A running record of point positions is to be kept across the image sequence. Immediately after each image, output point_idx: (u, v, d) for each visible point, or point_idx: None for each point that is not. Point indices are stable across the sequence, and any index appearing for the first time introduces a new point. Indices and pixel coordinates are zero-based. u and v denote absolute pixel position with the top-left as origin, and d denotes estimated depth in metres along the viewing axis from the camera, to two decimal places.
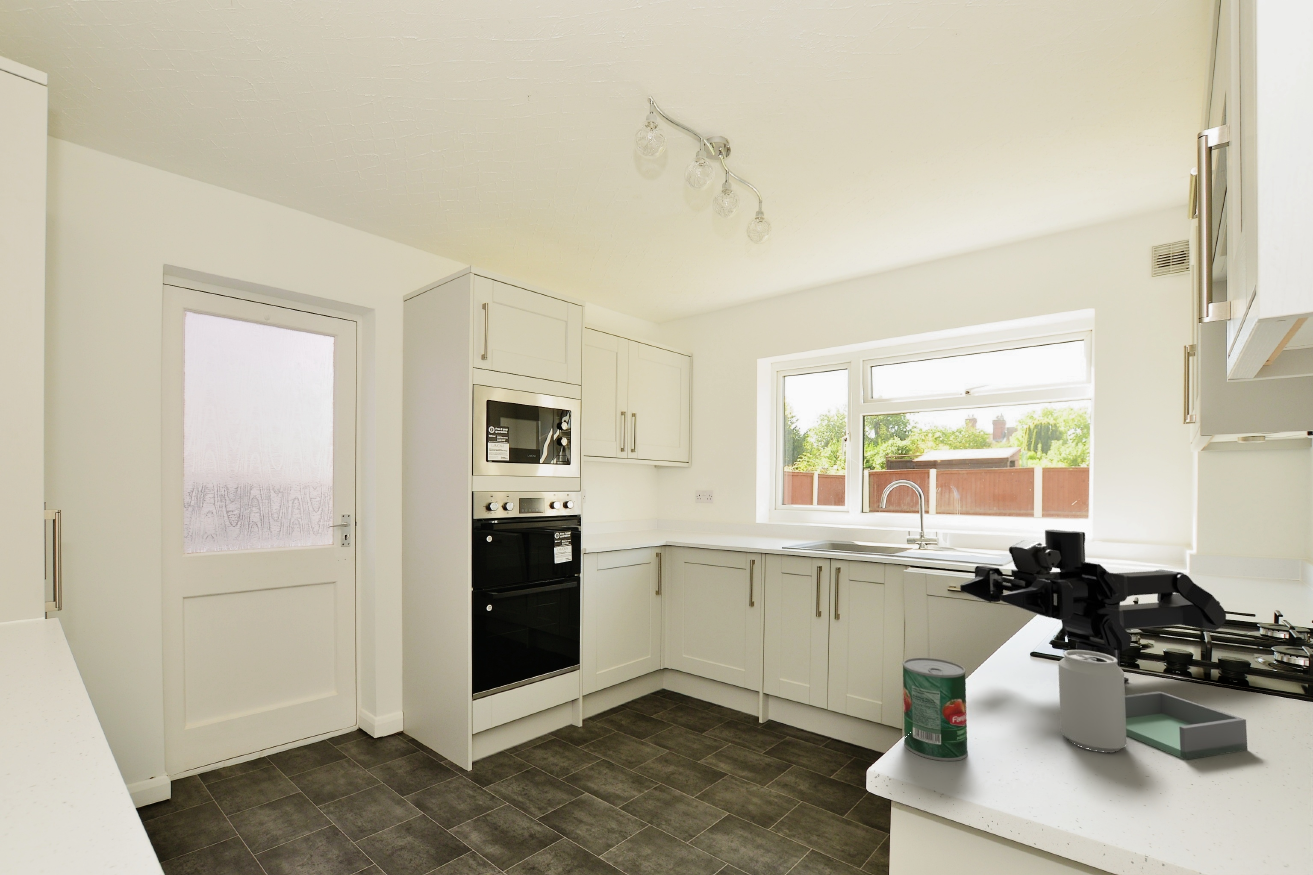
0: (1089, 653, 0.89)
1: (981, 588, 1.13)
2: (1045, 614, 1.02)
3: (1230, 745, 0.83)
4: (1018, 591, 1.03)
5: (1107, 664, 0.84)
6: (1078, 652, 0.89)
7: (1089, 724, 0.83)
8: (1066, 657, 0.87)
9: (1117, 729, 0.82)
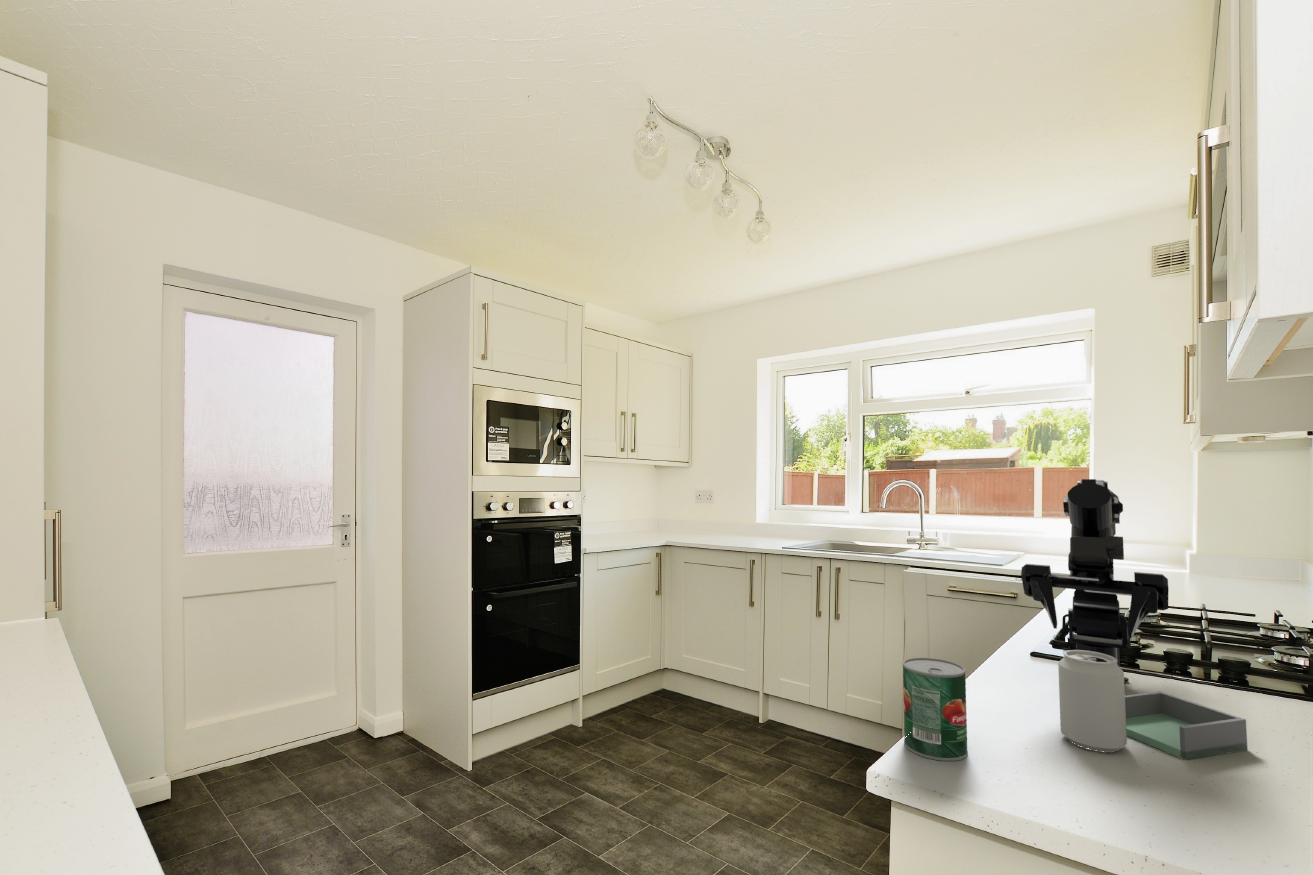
0: (1089, 653, 0.89)
1: None
2: (1148, 612, 0.94)
3: (1230, 745, 0.83)
4: (1134, 616, 0.91)
5: (1107, 664, 0.84)
6: (1078, 652, 0.89)
7: (1089, 724, 0.83)
8: (1066, 657, 0.87)
9: (1117, 729, 0.82)
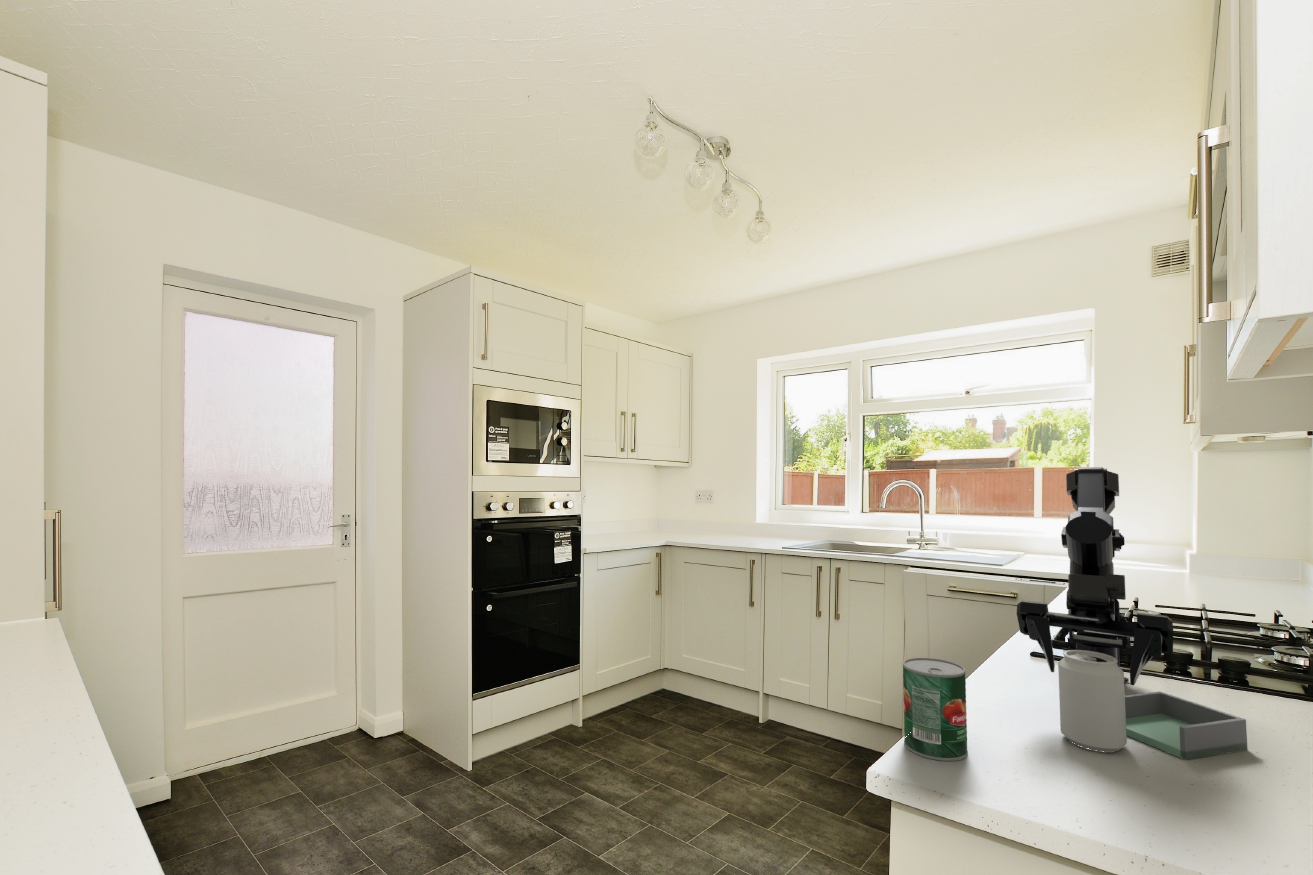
0: (1089, 653, 0.89)
1: None
2: (1152, 656, 0.88)
3: (1230, 745, 0.83)
4: (1136, 661, 0.85)
5: (1107, 664, 0.84)
6: (1078, 652, 0.89)
7: (1089, 724, 0.83)
8: (1066, 657, 0.87)
9: (1117, 729, 0.82)
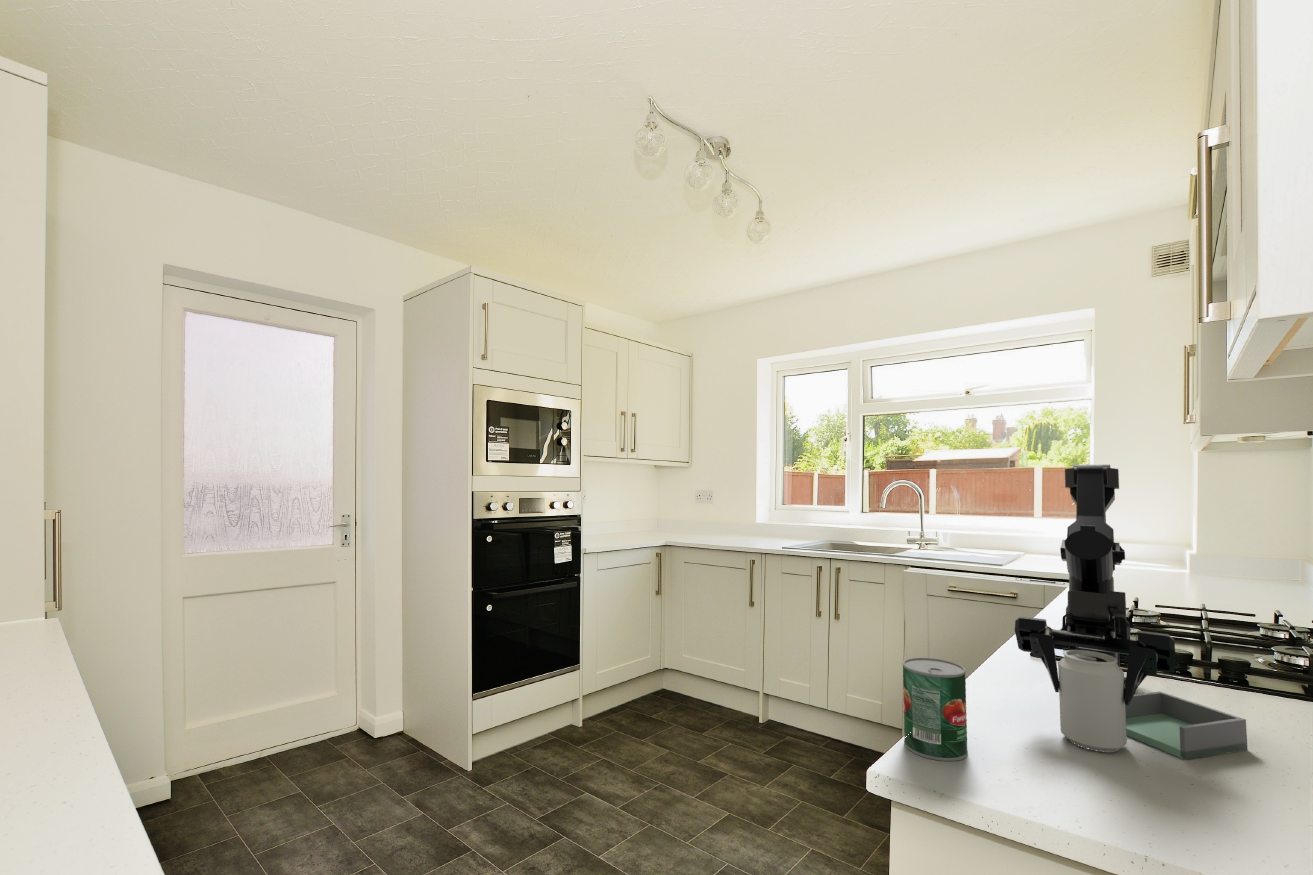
0: (1089, 653, 0.89)
1: None
2: (1147, 674, 0.87)
3: (1230, 745, 0.83)
4: (1131, 680, 0.84)
5: (1107, 664, 0.84)
6: (1078, 652, 0.89)
7: (1089, 724, 0.83)
8: (1066, 657, 0.87)
9: (1117, 729, 0.82)
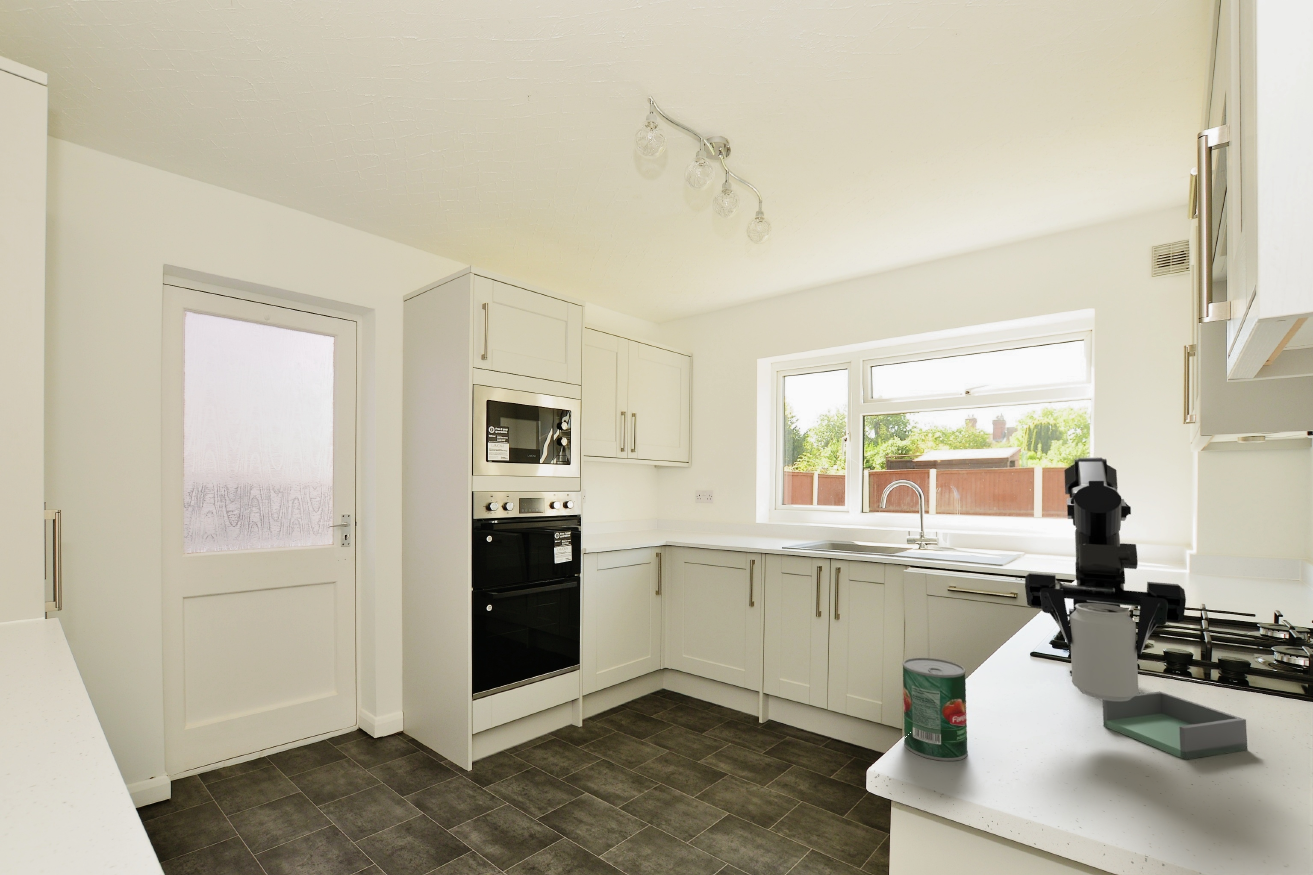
0: (1099, 606, 0.89)
1: None
2: (1156, 624, 0.87)
3: (1230, 745, 0.83)
4: (1143, 630, 0.84)
5: (1120, 614, 0.84)
6: (1088, 605, 0.90)
7: (1102, 674, 0.84)
8: (1078, 609, 0.87)
9: (1130, 678, 0.83)
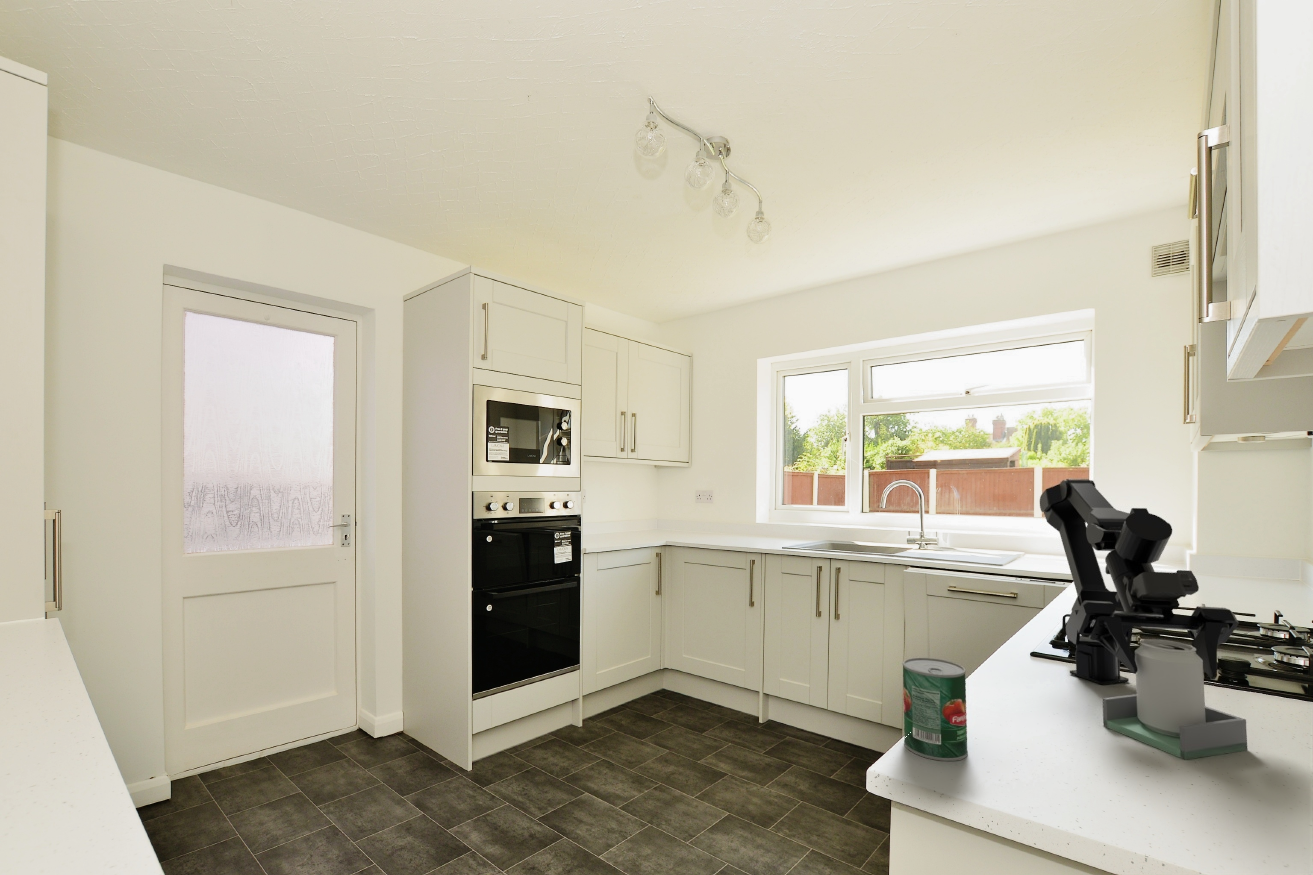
0: (1157, 641, 0.91)
1: None
2: None
3: (1230, 745, 0.83)
4: (1213, 655, 0.87)
5: (1193, 651, 0.86)
6: (1148, 641, 0.91)
7: (1181, 712, 0.85)
8: (1150, 648, 0.88)
9: (1203, 714, 0.85)
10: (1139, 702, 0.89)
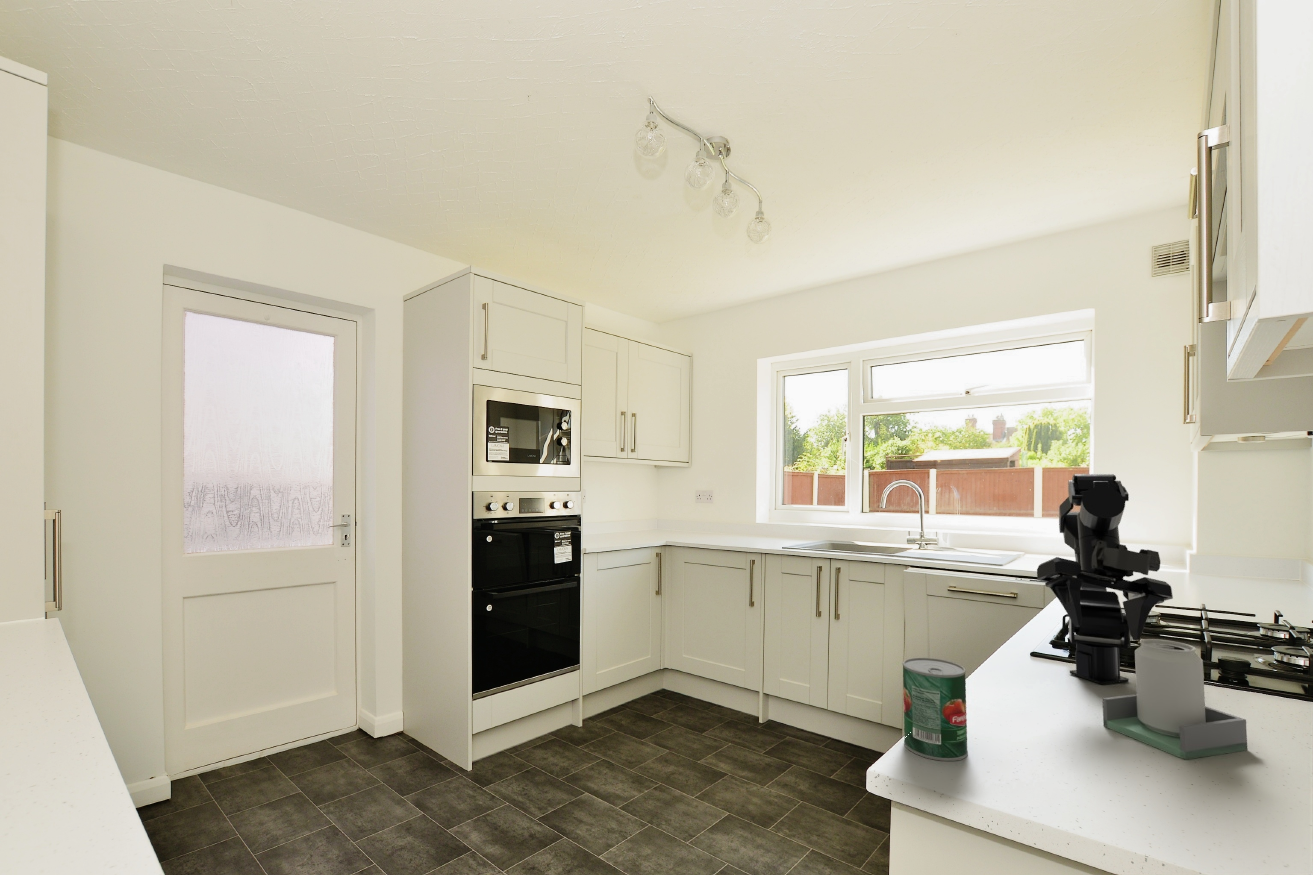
0: (1157, 641, 0.91)
1: None
2: None
3: (1230, 745, 0.83)
4: (1143, 621, 1.00)
5: (1193, 651, 0.86)
6: (1148, 641, 0.91)
7: (1181, 712, 0.85)
8: (1150, 648, 0.88)
9: (1203, 714, 0.85)
10: (1139, 702, 0.89)
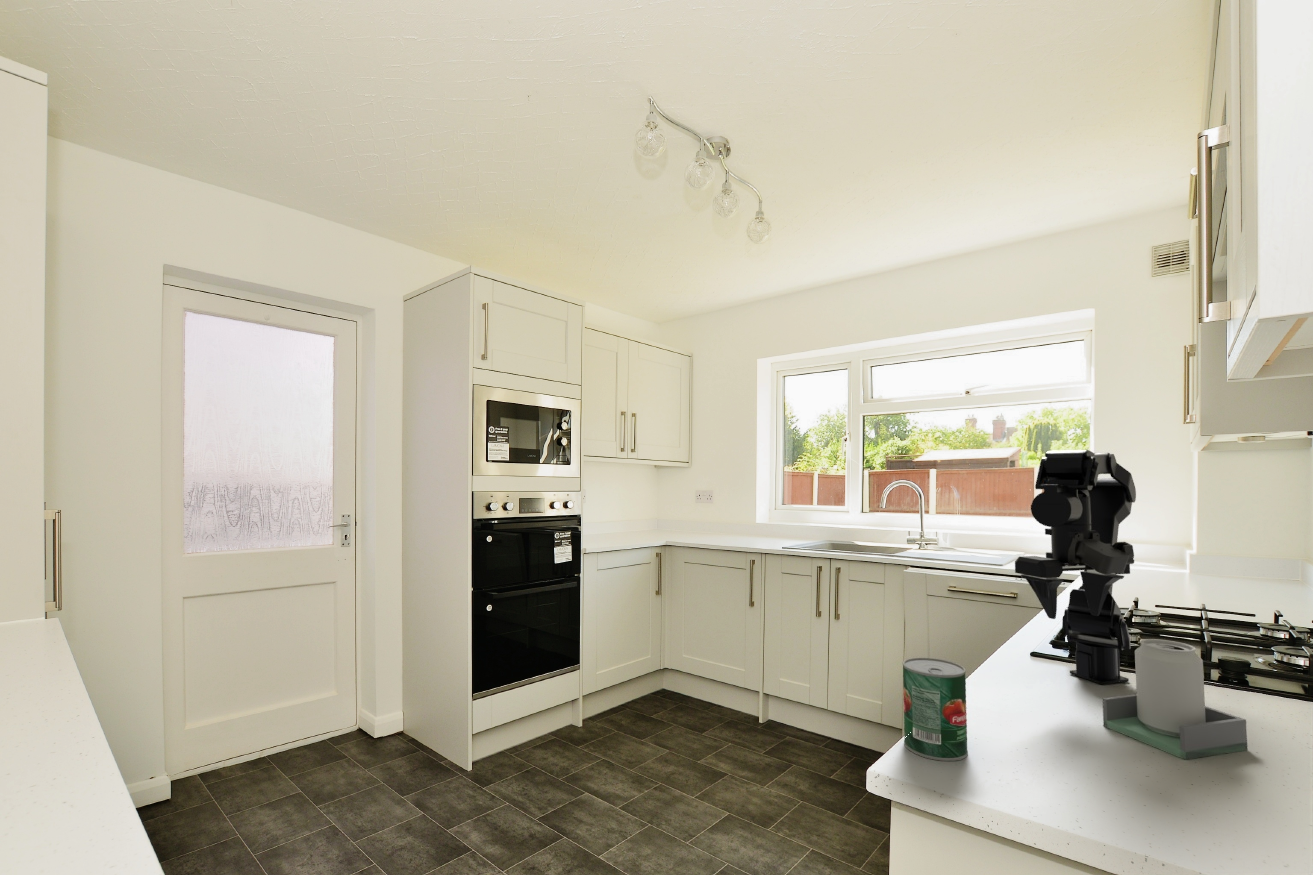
0: (1157, 641, 0.91)
1: None
2: None
3: (1230, 745, 0.83)
4: (1103, 599, 1.05)
5: (1193, 651, 0.86)
6: (1148, 641, 0.91)
7: (1181, 712, 0.85)
8: (1150, 648, 0.88)
9: (1203, 714, 0.85)
10: (1139, 702, 0.89)
